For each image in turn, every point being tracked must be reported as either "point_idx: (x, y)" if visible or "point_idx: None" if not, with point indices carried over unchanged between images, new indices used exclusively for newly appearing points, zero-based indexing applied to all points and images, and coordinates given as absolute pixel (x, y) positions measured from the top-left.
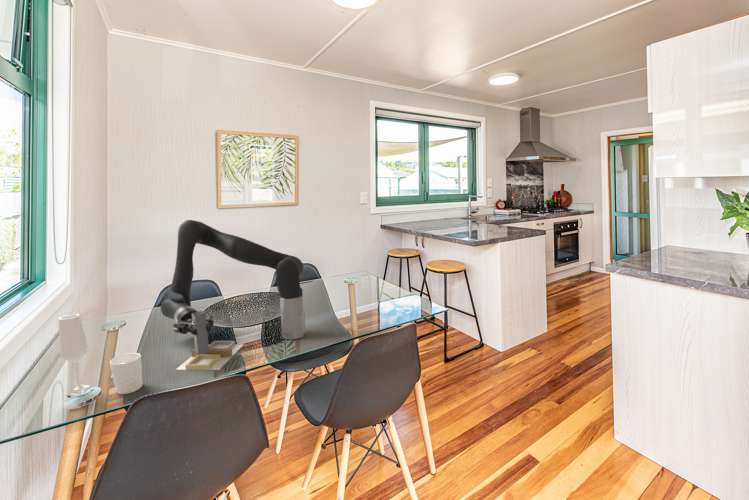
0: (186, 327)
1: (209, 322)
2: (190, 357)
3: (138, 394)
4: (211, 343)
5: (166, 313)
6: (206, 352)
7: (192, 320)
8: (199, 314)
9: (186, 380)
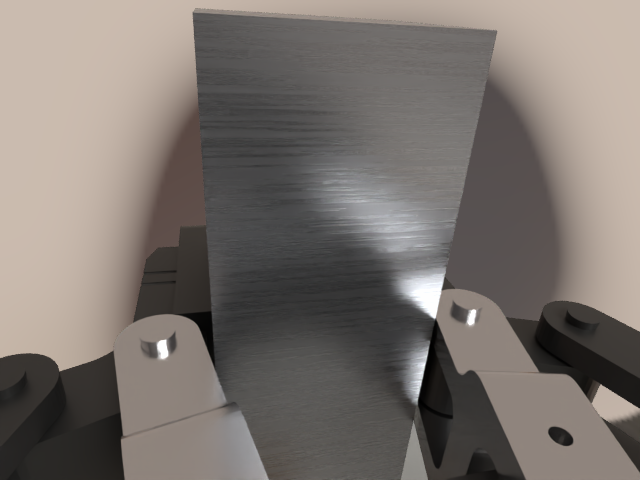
0: (542, 352)
1: (71, 387)
2: None
3: (636, 435)
4: None
5: None
6: None
7: (444, 217)
8: (310, 15)
9: (406, 454)
